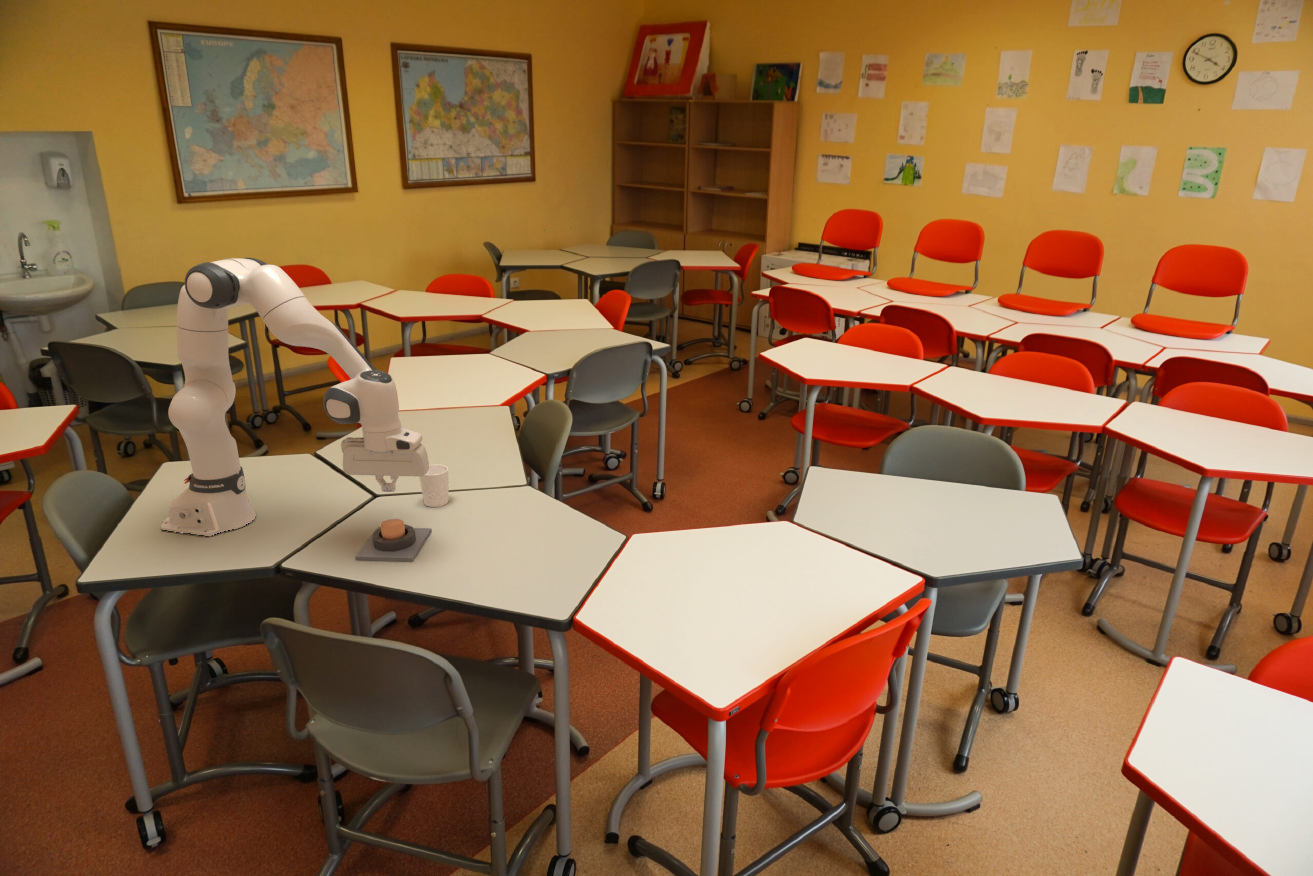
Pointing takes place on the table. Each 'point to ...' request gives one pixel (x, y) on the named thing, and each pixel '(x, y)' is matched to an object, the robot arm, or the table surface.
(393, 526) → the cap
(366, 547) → the square flange plate
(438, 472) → the white cup
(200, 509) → the robot arm
